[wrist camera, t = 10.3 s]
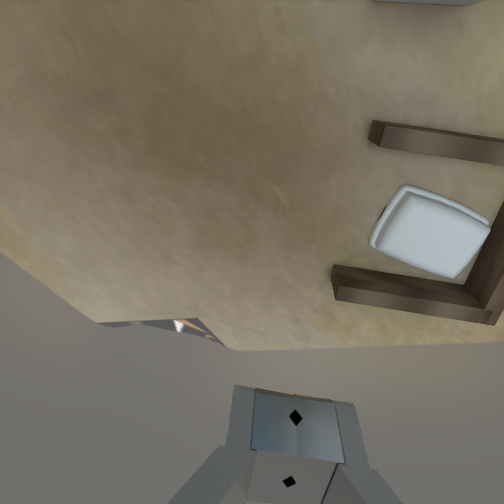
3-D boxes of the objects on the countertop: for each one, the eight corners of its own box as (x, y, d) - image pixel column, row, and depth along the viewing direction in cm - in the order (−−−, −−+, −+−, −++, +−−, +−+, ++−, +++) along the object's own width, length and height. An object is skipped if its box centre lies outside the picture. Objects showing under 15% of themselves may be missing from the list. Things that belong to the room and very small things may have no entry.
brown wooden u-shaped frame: (330, 277, 35) (335, 300, 32) (373, 119, 28) (385, 125, 25) (473, 300, 35) (494, 325, 31) (550, 146, 28) (588, 155, 24)
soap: (490, 215, 31) (509, 227, 29) (445, 276, 34) (457, 291, 32) (400, 177, 31) (411, 186, 28) (362, 242, 34) (368, 256, 31)
